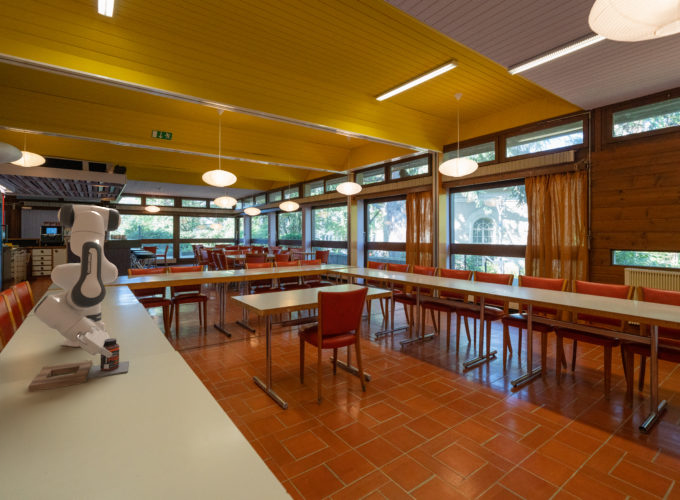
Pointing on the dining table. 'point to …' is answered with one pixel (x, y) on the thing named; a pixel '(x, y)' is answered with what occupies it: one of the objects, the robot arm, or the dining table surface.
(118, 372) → the slate-grey rubber mat
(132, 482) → the dining table surface
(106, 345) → the supplement bottle
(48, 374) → the walnut dock board
